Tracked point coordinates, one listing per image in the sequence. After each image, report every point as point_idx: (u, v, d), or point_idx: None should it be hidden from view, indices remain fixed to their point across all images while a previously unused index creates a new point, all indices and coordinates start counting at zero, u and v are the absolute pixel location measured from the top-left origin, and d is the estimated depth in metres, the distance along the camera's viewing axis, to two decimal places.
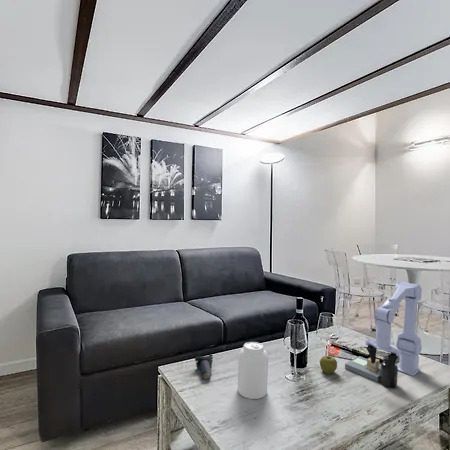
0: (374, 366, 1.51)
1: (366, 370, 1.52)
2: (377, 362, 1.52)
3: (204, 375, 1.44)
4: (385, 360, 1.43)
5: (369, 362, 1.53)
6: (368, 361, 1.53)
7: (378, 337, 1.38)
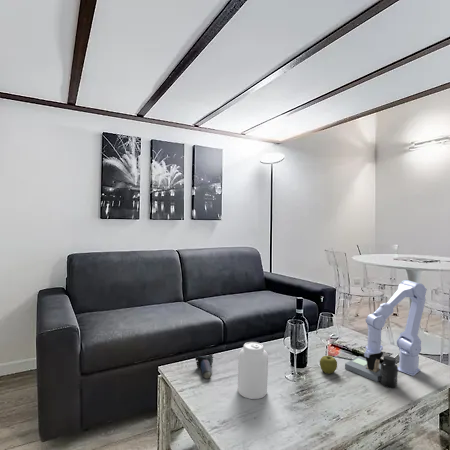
0: (374, 366, 1.51)
1: (366, 370, 1.52)
2: (377, 362, 1.52)
3: (205, 374, 1.45)
4: (385, 360, 1.43)
5: None
6: None
7: None
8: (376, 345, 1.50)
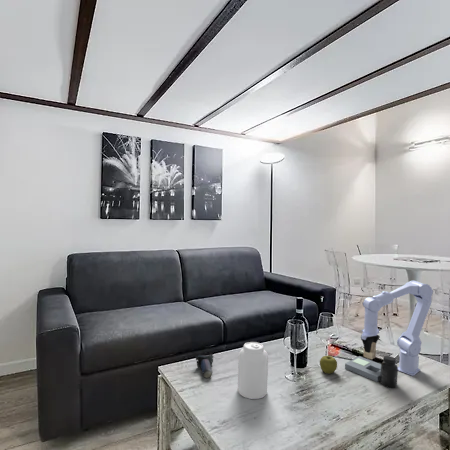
0: (371, 349, 1.53)
1: (366, 370, 1.52)
2: (374, 345, 1.54)
3: (205, 374, 1.45)
4: (385, 360, 1.43)
5: None
6: None
7: None
8: (373, 328, 1.52)
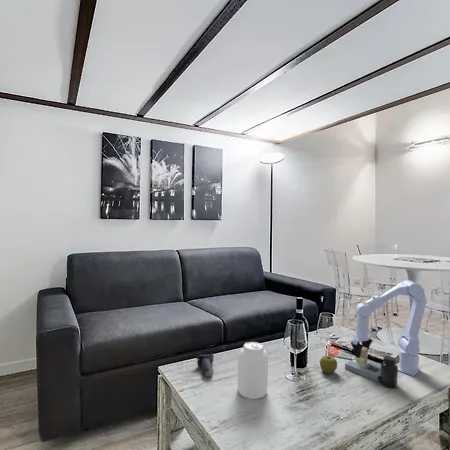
0: (362, 354, 1.57)
1: (366, 370, 1.52)
2: (365, 350, 1.58)
3: (206, 373, 1.46)
4: (385, 360, 1.43)
5: None
6: None
7: None
8: (364, 333, 1.57)
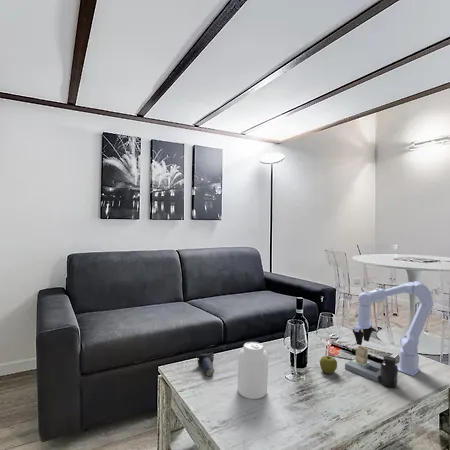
0: (362, 354, 1.57)
1: (366, 370, 1.52)
2: (365, 350, 1.58)
3: (207, 372, 1.47)
4: (385, 360, 1.43)
5: (358, 350, 1.59)
6: (357, 350, 1.60)
7: None
8: (365, 321, 1.61)
